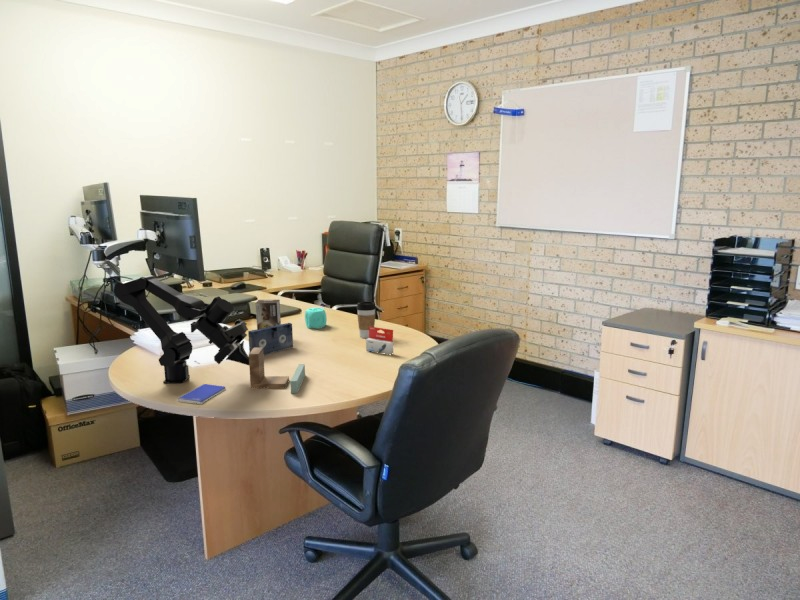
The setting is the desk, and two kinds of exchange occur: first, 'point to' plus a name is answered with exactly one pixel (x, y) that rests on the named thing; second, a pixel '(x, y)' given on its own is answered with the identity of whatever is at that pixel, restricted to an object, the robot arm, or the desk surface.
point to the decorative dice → (315, 318)
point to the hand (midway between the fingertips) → (251, 364)
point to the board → (297, 378)
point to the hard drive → (201, 394)
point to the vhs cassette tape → (271, 338)
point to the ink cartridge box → (380, 340)
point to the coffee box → (267, 313)
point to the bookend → (258, 373)
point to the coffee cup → (365, 317)
